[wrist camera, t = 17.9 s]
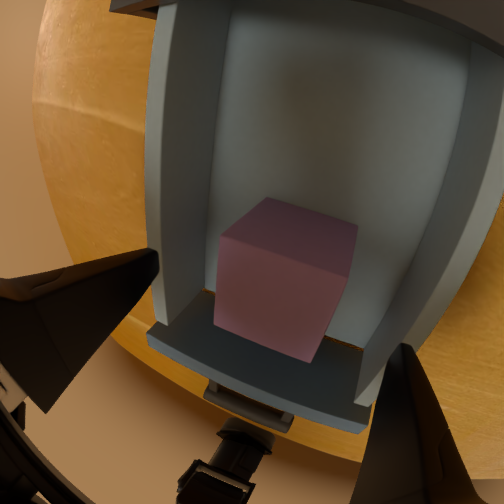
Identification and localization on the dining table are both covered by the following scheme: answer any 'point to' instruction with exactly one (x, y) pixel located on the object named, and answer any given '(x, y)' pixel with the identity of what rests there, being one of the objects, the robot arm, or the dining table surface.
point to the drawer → (317, 182)
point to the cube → (282, 276)
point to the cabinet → (411, 3)
